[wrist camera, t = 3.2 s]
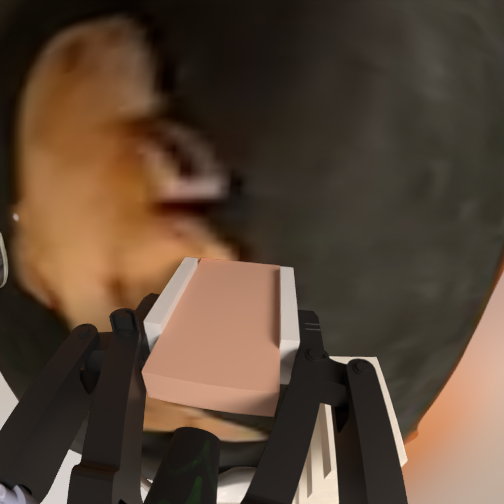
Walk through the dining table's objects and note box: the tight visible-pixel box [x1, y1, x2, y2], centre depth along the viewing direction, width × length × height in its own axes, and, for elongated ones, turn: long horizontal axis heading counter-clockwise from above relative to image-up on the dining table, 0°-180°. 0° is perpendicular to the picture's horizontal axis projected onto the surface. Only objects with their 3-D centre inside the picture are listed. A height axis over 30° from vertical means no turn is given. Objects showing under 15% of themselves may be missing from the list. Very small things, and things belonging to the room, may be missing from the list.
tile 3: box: [295, 461, 339, 504], centre depth 20 cm, size 2×5×10 cm, turn 86°
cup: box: [143, 427, 220, 504], centre depth 23 cm, size 8×8×12 cm
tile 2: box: [306, 411, 338, 498], centre depth 19 cm, size 2×5×10 cm, turn 86°
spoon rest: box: [141, 467, 257, 503], centre depth 29 cm, size 24×12×7 cm, turn 81°
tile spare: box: [142, 258, 280, 417], centre depth 14 cm, size 2×5×10 cm, turn 86°
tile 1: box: [319, 356, 407, 480], centre depth 17 cm, size 2×5×10 cm, turn 86°
